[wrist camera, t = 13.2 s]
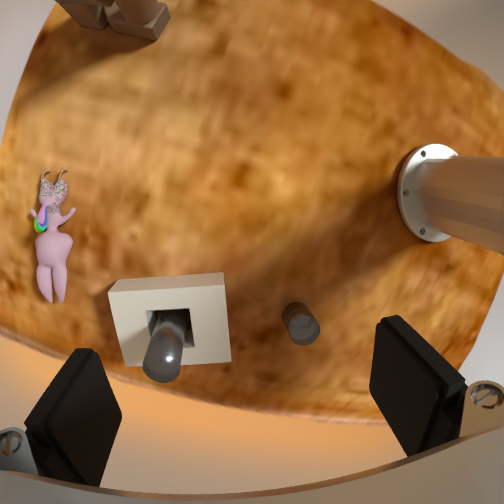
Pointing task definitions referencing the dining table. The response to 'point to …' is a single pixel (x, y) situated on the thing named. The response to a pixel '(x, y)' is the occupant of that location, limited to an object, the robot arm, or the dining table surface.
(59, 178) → the pink toy figurine
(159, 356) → the long pin
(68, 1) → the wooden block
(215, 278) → the hole block
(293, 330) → the short pin
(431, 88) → the dining table surface
